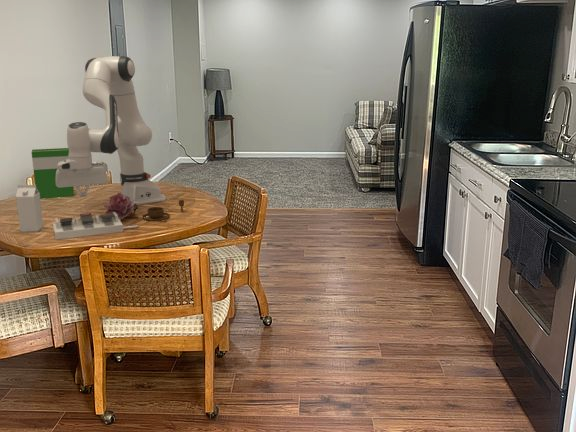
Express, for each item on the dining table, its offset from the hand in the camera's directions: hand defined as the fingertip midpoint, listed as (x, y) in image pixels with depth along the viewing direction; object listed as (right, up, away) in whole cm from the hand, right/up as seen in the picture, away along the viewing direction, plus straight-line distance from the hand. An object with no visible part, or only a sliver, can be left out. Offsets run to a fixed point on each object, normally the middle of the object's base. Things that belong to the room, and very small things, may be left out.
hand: (83, 196), depth 234 cm
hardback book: (-35, +2, +58) cm, 68 cm away
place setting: (+29, -9, +22) cm, 38 cm away
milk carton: (-22, -14, +2) cm, 26 cm away
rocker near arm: (+9, -9, +4) cm, 13 cm away
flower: (+10, -9, +21) cm, 25 cm away
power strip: (+5, -14, +1) cm, 15 cm away
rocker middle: (+1, -10, +1) cm, 10 cm away
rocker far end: (-6, -11, -3) cm, 13 cm away
